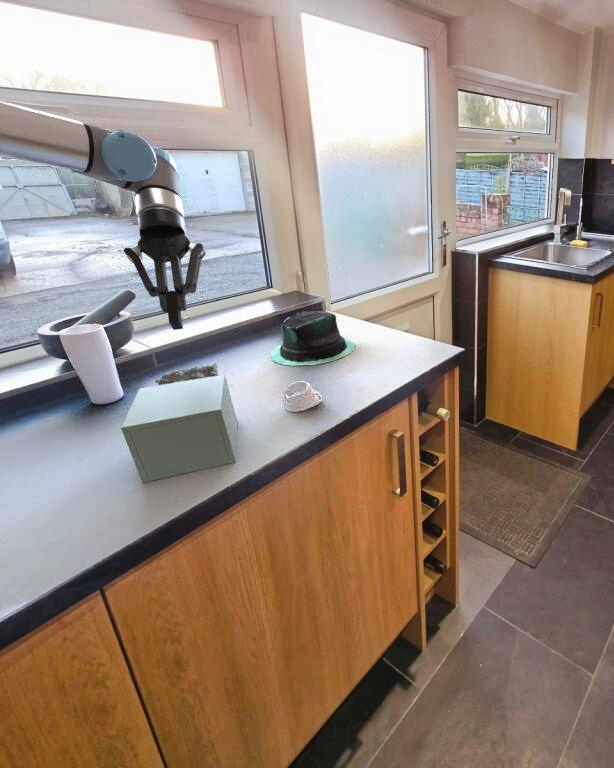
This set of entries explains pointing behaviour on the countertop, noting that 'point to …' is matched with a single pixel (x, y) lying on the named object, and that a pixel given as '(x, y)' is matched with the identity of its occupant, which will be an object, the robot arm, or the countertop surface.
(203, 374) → the egg carton
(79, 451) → the countertop surface
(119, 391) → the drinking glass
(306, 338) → the dark green hat
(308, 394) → the white ribbed cup
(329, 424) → the countertop surface
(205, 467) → the cabinet
